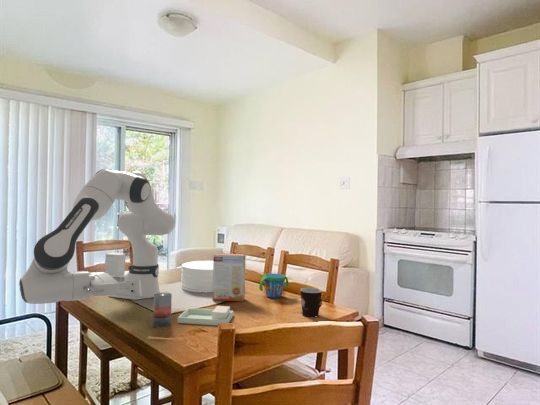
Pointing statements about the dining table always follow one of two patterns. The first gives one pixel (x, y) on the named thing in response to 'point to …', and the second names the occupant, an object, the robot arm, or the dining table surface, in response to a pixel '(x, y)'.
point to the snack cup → (273, 284)
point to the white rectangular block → (221, 312)
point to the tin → (162, 309)
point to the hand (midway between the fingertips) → (127, 281)
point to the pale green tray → (201, 317)
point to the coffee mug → (310, 301)
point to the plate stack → (197, 276)
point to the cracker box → (229, 277)
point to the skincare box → (115, 264)
